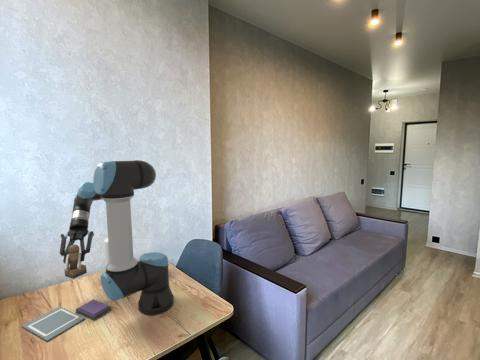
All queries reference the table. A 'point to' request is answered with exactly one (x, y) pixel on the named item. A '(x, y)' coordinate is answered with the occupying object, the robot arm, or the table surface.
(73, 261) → the stamp
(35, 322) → the form board
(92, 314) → the ink pad
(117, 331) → the table surface
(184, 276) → the table surface
